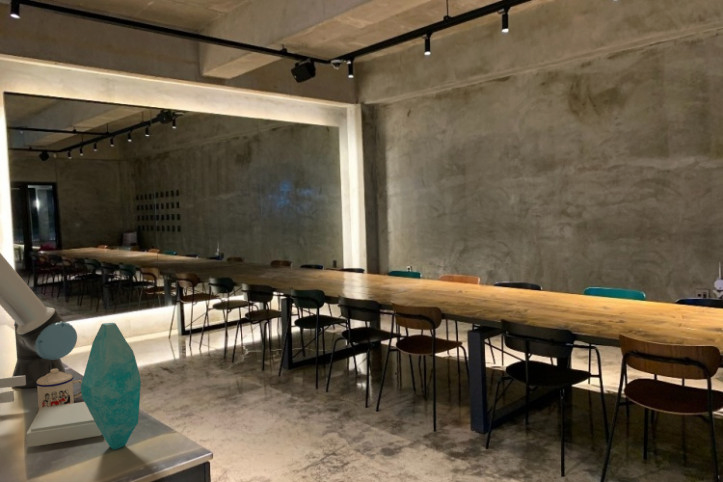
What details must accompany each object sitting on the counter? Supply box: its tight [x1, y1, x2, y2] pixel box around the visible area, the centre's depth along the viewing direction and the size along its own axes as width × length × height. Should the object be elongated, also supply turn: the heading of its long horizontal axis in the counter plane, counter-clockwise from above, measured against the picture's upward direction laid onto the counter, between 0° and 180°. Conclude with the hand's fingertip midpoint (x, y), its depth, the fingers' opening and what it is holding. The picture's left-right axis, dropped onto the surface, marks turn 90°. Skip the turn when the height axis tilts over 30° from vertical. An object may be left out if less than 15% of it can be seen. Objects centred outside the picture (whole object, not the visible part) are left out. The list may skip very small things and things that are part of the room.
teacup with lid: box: [36, 369, 82, 411], centre depth 147 cm, size 12×9×12 cm
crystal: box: [80, 322, 142, 450], centre depth 122 cm, size 12×14×30 cm
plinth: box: [25, 401, 103, 448], centre depth 134 cm, size 16×16×4 cm
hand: (19, 387), depth 143 cm, fingers open, 13 cm apart
